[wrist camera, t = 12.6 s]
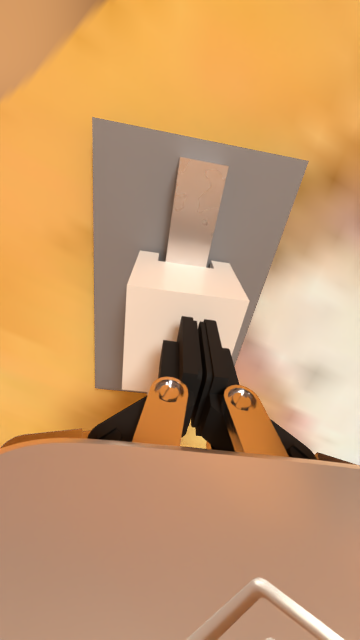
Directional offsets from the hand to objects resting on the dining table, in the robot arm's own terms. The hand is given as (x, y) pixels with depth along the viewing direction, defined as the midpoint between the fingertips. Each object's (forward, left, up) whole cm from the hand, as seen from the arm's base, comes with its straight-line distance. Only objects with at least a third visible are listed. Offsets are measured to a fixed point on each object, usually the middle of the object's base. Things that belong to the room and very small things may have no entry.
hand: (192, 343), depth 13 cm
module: (0, +1, -7) cm, 7 cm away
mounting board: (+1, +1, -8) cm, 8 cm away
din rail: (+1, +1, -7) cm, 7 cm away
